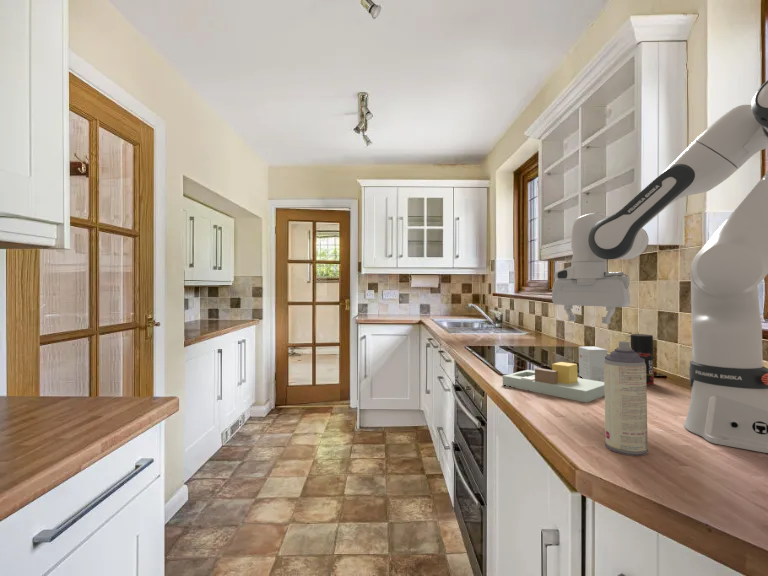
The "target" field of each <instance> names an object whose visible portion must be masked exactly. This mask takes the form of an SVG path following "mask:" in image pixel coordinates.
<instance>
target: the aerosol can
mask: <svg viewBox="0 0 768 576" xmlns="http://www.w3.org/2000/svg"><path fill="white" fill-rule="evenodd" d="M644 361H645V359H643V358H640V356H639V354H638V353H636V352H634V350H632V348H631V343H630V341H618V346H617V347H616V348H614V350H613V351H611V352H610V353H609V355H607V356H606V357H605V361H604V387H605V396H604V431H605V434H604V435H605V447H606V449H608V450H609V449H610V450H609V451H610V452H614V453H616V452H617V454H620V453H621V454H620V455H624V454H626V455H625V456H630V455H636V456H635V457H639V455H642V456H645V455H644V454H646V453H647V452H648V453H649V450H648V448H649V445H648V442H649V441H648V401H647V400H648V398H647V397H648V396H647V395H648V394H647V392H648V391H647V385H646V364H645V362H644ZM648 453H647V454H648ZM647 454H646V455H647Z"/></svg>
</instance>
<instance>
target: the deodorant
mask: <svg viewBox="0 0 768 576" xmlns="http://www.w3.org/2000/svg"><path fill="white" fill-rule="evenodd" d="M630 348H632V350H634V352H636V353H638V354H639V356H640V358H643V359H645V361H644V362H645V364H646V386H652V384H653V385H655V383H654V382H655V381H654V380H655V375H654V373H655V371H654V335H653V334H644V333H641V334H639V333H635V334H630Z"/></svg>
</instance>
